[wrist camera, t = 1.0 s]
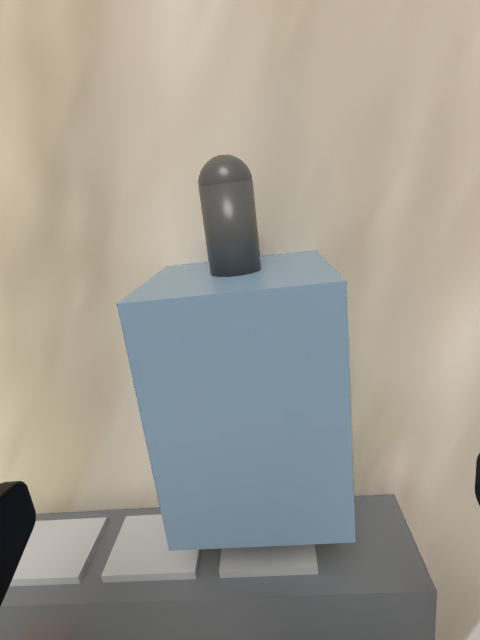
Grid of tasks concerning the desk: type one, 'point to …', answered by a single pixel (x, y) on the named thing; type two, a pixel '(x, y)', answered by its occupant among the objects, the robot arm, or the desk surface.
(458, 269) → the desk surface
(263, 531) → the slate plug
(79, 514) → the power strip
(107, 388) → the desk surface
